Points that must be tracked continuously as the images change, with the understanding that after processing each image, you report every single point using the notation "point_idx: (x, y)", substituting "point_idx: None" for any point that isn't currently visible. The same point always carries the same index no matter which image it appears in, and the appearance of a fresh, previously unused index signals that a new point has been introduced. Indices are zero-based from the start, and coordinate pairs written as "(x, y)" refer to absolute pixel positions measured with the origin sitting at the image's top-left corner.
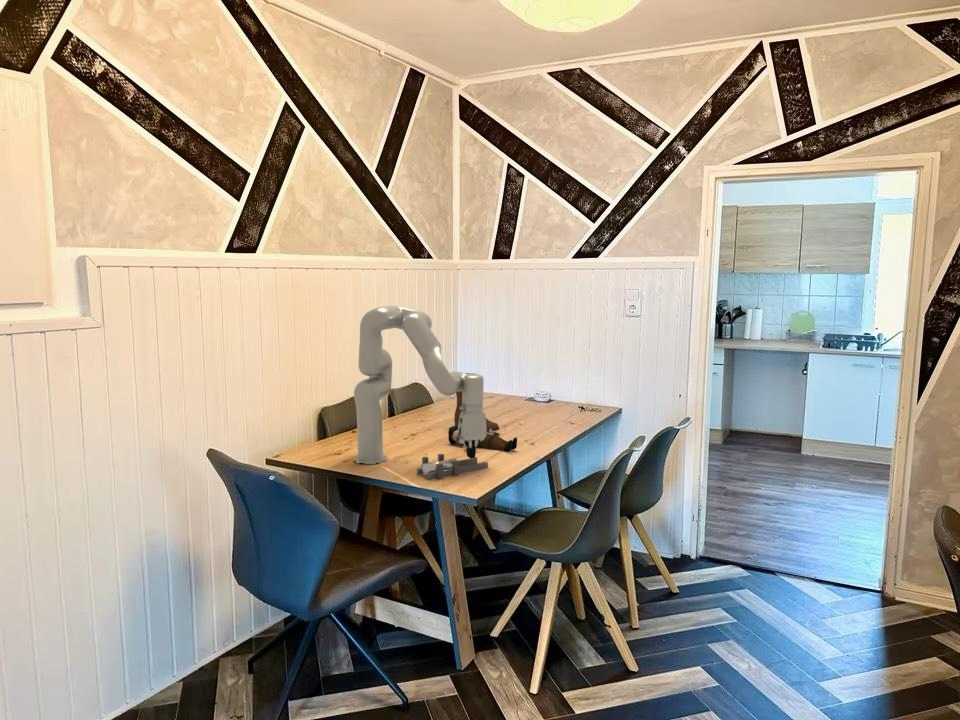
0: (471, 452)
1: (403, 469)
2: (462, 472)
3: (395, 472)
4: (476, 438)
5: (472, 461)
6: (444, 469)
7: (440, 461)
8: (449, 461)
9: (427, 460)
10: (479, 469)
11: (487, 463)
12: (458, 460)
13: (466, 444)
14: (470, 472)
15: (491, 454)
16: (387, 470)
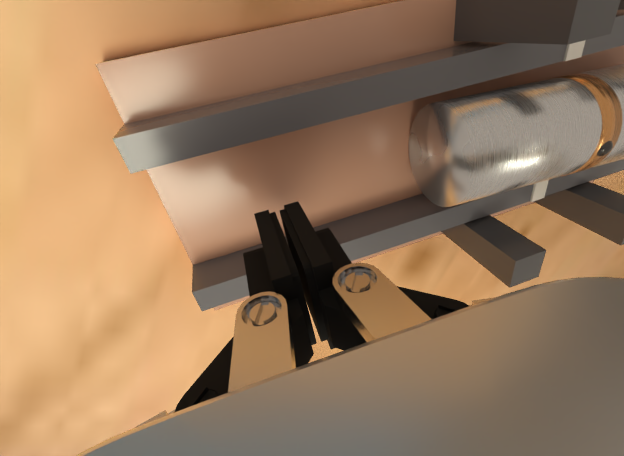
0: (314, 234)
1: (547, 269)
2: (398, 59)
3: (593, 240)
4: (336, 374)
5: (239, 263)
6: (551, 79)
7: (607, 133)
8: (540, 127)
9: (614, 207)
10: (224, 97)
11: (120, 135)
12: (357, 258)
13: (430, 297)
14: (334, 39)
15: (33, 438)
16: (592, 269)
